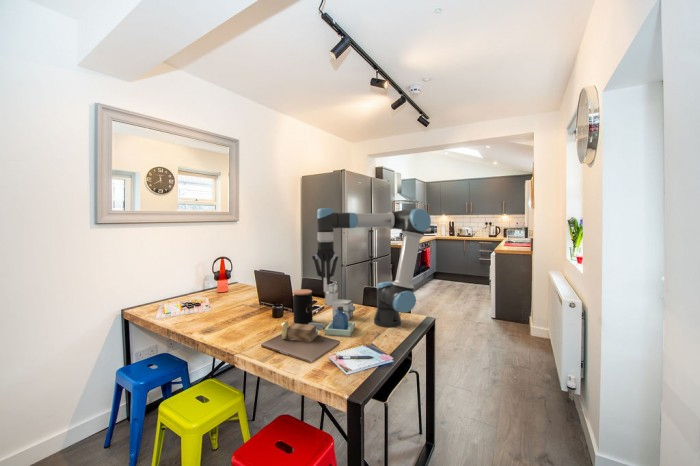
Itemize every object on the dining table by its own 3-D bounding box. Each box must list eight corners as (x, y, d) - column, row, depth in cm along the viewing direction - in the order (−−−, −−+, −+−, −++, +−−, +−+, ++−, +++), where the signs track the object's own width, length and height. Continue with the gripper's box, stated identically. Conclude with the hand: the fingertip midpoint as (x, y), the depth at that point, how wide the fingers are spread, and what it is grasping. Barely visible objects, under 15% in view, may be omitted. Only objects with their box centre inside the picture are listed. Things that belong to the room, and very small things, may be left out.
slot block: (323, 328, 158) (323, 323, 158) (316, 336, 147) (316, 331, 147) (309, 327, 160) (309, 322, 160) (301, 335, 148) (301, 330, 148)
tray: (354, 327, 158) (354, 322, 158) (349, 336, 146) (349, 330, 146) (331, 326, 161) (331, 320, 161) (324, 335, 148) (324, 329, 148)
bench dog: (289, 337, 145) (289, 321, 145) (287, 340, 142) (286, 324, 142) (283, 337, 146) (283, 321, 145) (280, 339, 143) (280, 323, 142)
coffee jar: (308, 326, 161) (308, 293, 160) (290, 325, 163) (290, 293, 163) (315, 320, 171) (314, 289, 171) (297, 319, 174) (297, 288, 173)
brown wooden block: (316, 337, 146) (315, 325, 146) (310, 342, 140) (310, 330, 140) (293, 335, 149) (293, 323, 149) (287, 340, 143) (287, 328, 142)
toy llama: (351, 321, 169) (351, 286, 168) (325, 317, 176) (324, 284, 176) (356, 317, 176) (356, 284, 175) (331, 314, 183) (330, 282, 182)
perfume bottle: (347, 328, 155) (347, 306, 155) (344, 332, 150) (344, 309, 149) (336, 327, 157) (336, 305, 157) (332, 331, 151) (332, 308, 151)
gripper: (340, 240, 140) (341, 289, 141) (314, 240, 143) (315, 288, 144) (337, 241, 133) (337, 293, 134) (309, 241, 136) (310, 292, 136)
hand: (326, 291), depth 139 cm, fingers closed
